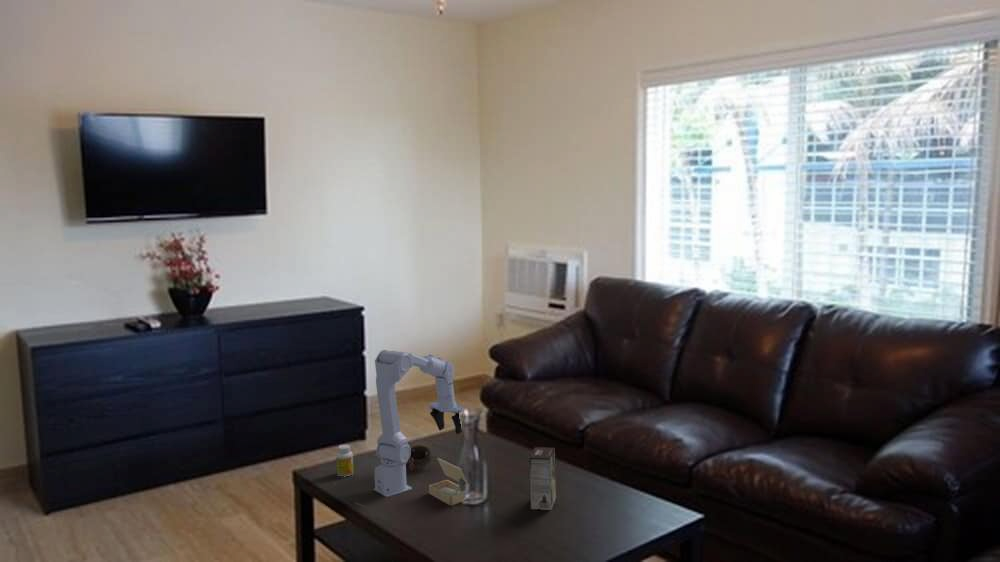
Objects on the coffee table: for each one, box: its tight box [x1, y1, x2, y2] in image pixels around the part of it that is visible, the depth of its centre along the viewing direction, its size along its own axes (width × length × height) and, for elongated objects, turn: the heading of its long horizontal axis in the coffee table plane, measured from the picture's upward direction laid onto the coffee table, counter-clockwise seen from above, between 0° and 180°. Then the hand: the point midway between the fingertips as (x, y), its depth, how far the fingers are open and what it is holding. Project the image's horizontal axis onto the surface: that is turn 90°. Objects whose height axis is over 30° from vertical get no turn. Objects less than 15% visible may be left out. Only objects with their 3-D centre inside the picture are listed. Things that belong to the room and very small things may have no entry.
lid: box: [437, 457, 469, 485], centre depth 242 cm, size 7×12×1 cm
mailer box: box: [428, 479, 467, 506], centre depth 242 cm, size 7×12×3 cm, turn 38°
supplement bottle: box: [336, 444, 355, 478], centre depth 262 cm, size 5×5×10 cm
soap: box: [439, 487, 457, 496], centre depth 241 cm, size 3×5×2 cm, turn 48°
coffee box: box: [529, 446, 557, 511], centre depth 235 cm, size 9×6×16 cm
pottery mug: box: [407, 444, 433, 471], centre depth 269 cm, size 12×10×8 cm
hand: (450, 431), depth 271 cm, fingers open, 7 cm apart
